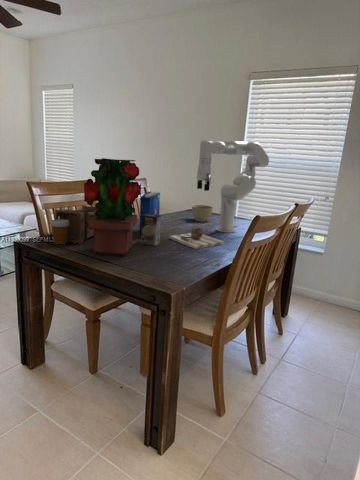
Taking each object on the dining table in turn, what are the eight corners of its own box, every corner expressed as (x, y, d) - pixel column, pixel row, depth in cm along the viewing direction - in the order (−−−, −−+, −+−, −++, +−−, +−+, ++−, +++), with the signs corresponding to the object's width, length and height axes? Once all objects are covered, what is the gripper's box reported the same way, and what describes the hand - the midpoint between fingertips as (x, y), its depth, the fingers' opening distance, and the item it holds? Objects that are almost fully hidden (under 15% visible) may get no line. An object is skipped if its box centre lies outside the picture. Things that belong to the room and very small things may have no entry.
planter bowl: (186, 219, 255) (187, 205, 252) (200, 217, 266) (201, 204, 263) (201, 223, 244) (202, 209, 241) (215, 221, 255) (217, 207, 252)
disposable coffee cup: (49, 245, 168) (48, 222, 165) (53, 240, 177) (52, 218, 174) (68, 245, 170) (68, 223, 167) (71, 240, 179) (71, 219, 176)
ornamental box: (92, 232, 211) (88, 203, 207) (116, 232, 205) (113, 202, 202) (55, 243, 179) (51, 209, 175) (83, 244, 173) (79, 209, 169)
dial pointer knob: (199, 236, 197) (200, 226, 196) (202, 238, 193) (203, 228, 191) (180, 237, 193) (180, 227, 192) (183, 239, 189) (183, 229, 187)
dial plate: (196, 234, 210) (197, 232, 210) (223, 243, 192) (224, 241, 192) (169, 238, 197) (169, 235, 196) (195, 248, 179) (195, 245, 178)
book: (149, 237, 195) (150, 195, 189) (137, 236, 197) (139, 194, 190) (158, 230, 216) (160, 191, 210) (148, 228, 217) (149, 190, 211)
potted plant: (97, 244, 176) (97, 157, 164) (139, 247, 176) (141, 160, 164) (85, 256, 155) (83, 158, 143) (132, 260, 154) (134, 161, 143)
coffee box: (140, 243, 183) (141, 214, 178) (145, 240, 188) (146, 213, 184) (155, 245, 180) (156, 217, 176) (160, 243, 186) (161, 215, 181)
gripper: (193, 160, 209) (191, 187, 213) (206, 162, 193) (203, 191, 198) (204, 161, 211) (202, 188, 216) (217, 162, 196) (214, 191, 201)
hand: (202, 189), depth 207 cm, fingers open, 9 cm apart
